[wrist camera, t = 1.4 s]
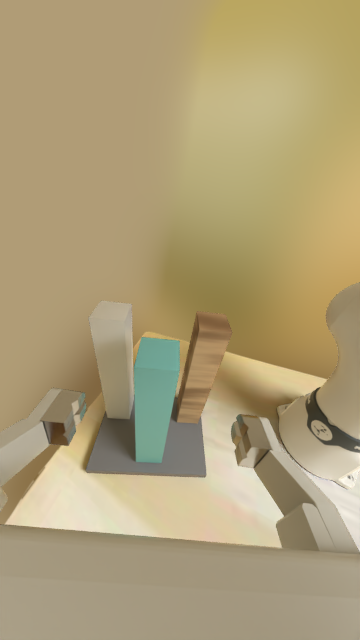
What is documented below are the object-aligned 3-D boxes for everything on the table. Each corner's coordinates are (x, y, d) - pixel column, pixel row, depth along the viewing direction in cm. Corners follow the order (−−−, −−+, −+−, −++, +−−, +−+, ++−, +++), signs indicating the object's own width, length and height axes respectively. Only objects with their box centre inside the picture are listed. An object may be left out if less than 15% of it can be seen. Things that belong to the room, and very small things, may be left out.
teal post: (161, 463, 36) (179, 370, 20) (135, 461, 36) (133, 367, 20) (163, 435, 40) (179, 340, 24) (140, 434, 40) (141, 337, 24)
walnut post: (197, 423, 43) (232, 332, 27) (176, 422, 43) (199, 329, 27) (196, 403, 47) (225, 314, 31) (177, 402, 47) (196, 311, 31)
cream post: (129, 419, 42) (124, 321, 26) (107, 418, 42) (88, 317, 26) (134, 399, 46) (131, 303, 30) (113, 397, 46) (100, 300, 30)
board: (204, 477, 36) (206, 475, 36) (86, 472, 35) (85, 470, 34) (198, 402, 50) (199, 399, 49) (112, 396, 48) (111, 392, 47)
